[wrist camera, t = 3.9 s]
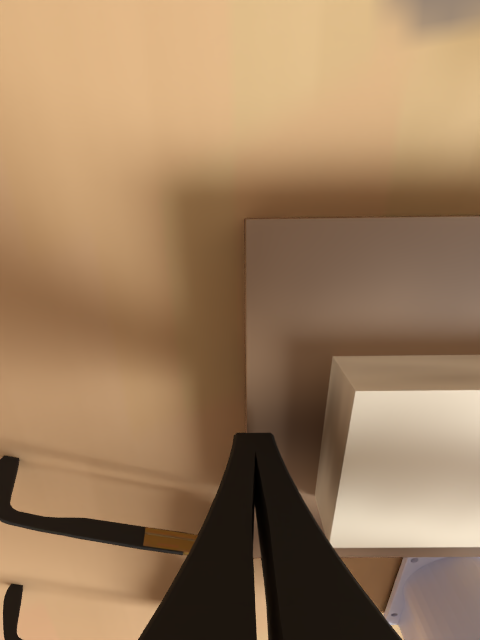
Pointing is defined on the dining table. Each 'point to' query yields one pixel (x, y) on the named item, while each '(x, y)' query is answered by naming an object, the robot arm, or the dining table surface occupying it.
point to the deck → (349, 321)
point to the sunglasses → (3, 478)
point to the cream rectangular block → (401, 452)
